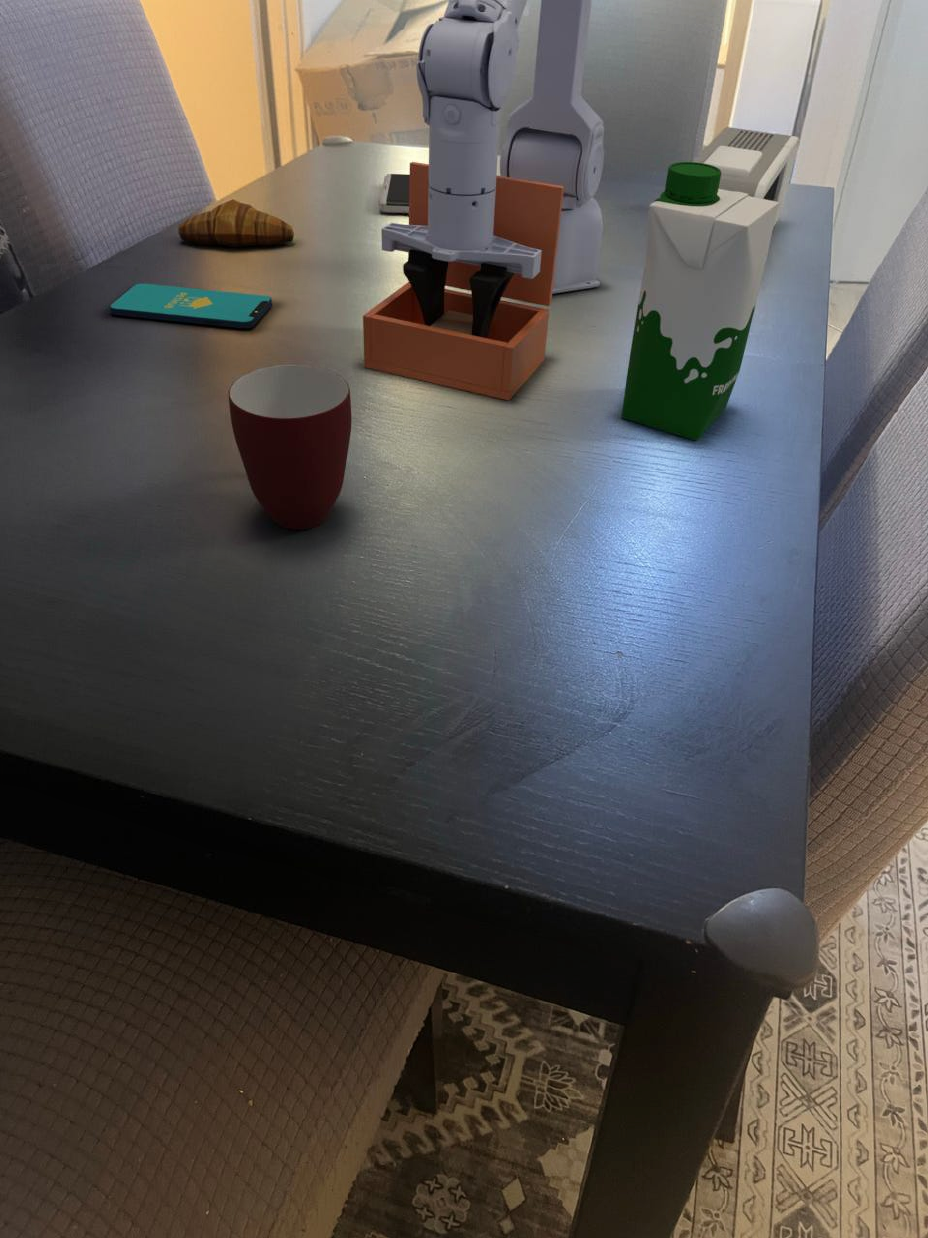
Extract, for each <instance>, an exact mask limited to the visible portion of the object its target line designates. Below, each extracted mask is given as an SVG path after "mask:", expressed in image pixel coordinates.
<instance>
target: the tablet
mask: <svg viewBox="0 0 928 1238" xmlns="http://www.w3.org/2000/svg"><path fill="white" fill-rule="evenodd" d="M409 178H410V174H406V173H405V174H404V173H387V174H385V176H384V178H383V183H382V188H381V192H380V196H379V201H378V204H379V205H378V208H379V210H380V211H381V212H383V213H393V214H409Z"/></svg>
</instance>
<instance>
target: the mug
mask: <svg viewBox="0 0 928 1238" xmlns="http://www.w3.org/2000/svg"><path fill="white" fill-rule="evenodd" d="M351 399H352V398H351V389H350V385H349V383H348V382H347V381H346V380H345V378H344V377H342V376H341V375H340V374H338V373H336V372H334V371H332V370H329V369H326V368H324V367H321V366H315V365H308V364H296V363H295V364H292V363H291V364H277V365H270V366H265V367H260V368H257V369H255V370H252V371H249V372H247V373H245V374H243V375H241V376H239V377H238V378H237V379H236V380H235V381H234V382H232V384H231V385H230V387H229V389H228V405H229V414H230V423H231V428H232V432H233V433H232V434H233V436H234V440H235V443H236V446H237V449H238V453H239V455H240V458H241V462H242V465H243V468H244V471H245V475H246V477H247V480H248V484H249V486H250V488H251V491H252V493H253V496H254V497H255V498H256V500H257V502H258V503H259V504H260V506H261V508H263V510H264V511H265V512H266V513H267V515H268V516H269V517H270V518H271V520H272V521H273V522H274V523H275V524H276V525H278V526H279V527H281V528H282V529H283V528H284V529H287V530H293V531H304V530H309V529H313V528H316V527H318V526H320V525H322V524H323V523H324V522H325V521H326V520H327V518H328V517H329V514H330V513H331V511H332V509H333V508H334V506H335V504H336V503H337V500H338V498H339V496H340V494H341V492H342V489H343V486H344V482H345V481H344V480H345V474H346V467H347V461H348V460H347V459H348V454H349V446H350V440H351V433H352V402H351V401H352V400H351Z"/></svg>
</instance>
